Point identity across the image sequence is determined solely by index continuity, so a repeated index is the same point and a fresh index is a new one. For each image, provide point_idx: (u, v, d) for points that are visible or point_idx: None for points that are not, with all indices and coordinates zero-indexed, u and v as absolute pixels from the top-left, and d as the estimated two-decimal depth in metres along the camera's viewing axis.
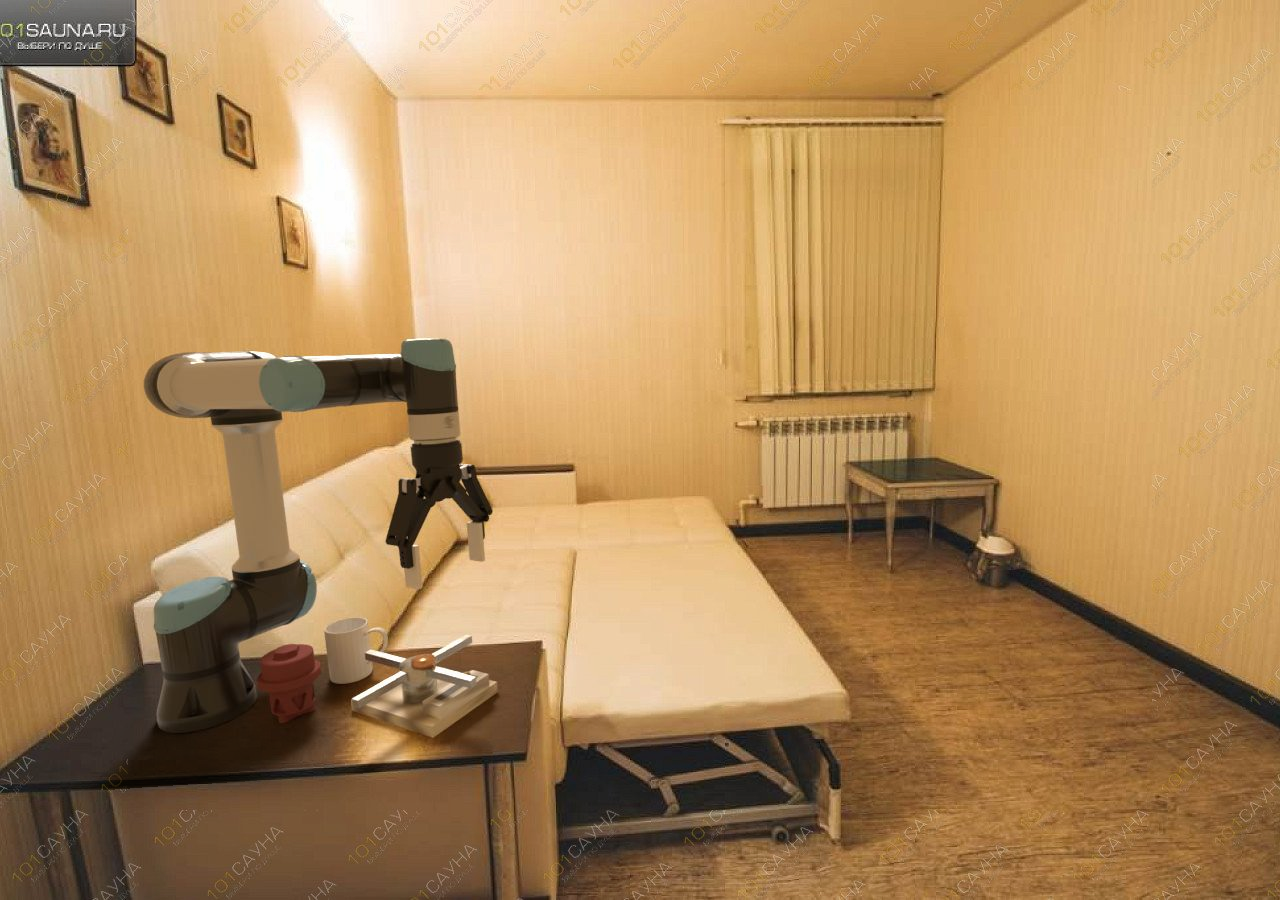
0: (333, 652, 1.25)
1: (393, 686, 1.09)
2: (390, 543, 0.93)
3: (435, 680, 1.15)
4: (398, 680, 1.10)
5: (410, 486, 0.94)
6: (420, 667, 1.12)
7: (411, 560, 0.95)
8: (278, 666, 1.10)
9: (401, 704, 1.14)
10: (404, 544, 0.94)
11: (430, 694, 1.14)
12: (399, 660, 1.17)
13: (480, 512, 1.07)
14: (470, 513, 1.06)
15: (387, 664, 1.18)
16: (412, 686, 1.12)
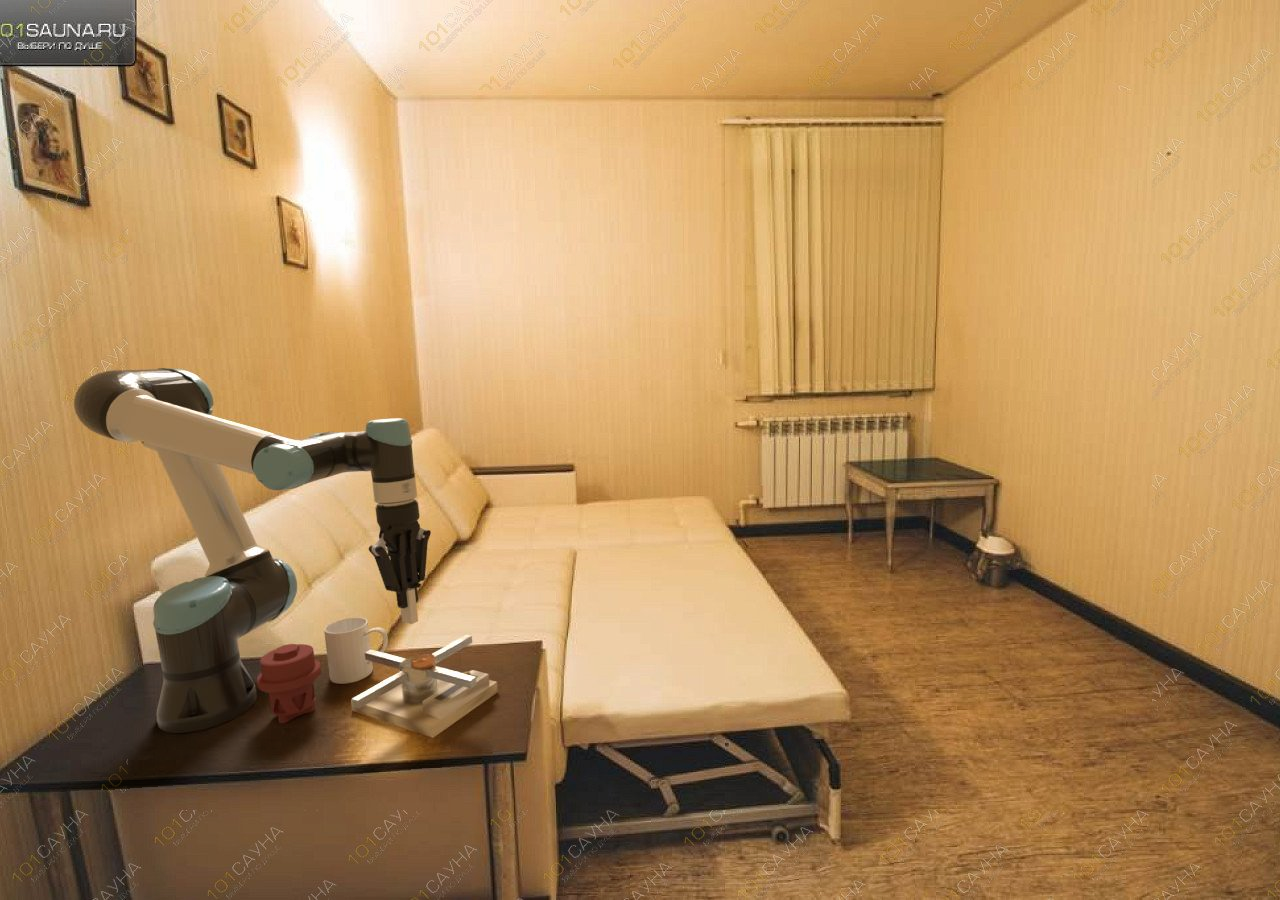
0: (333, 652, 1.25)
1: (393, 686, 1.09)
2: (389, 589, 1.20)
3: (435, 680, 1.15)
4: (398, 680, 1.10)
5: (380, 553, 1.16)
6: (420, 667, 1.12)
7: (406, 601, 1.22)
8: (278, 666, 1.10)
9: (401, 704, 1.14)
10: (401, 592, 1.21)
11: (430, 694, 1.14)
12: (399, 660, 1.17)
13: (416, 577, 1.24)
14: (408, 575, 1.23)
15: (387, 664, 1.18)
16: (412, 686, 1.12)
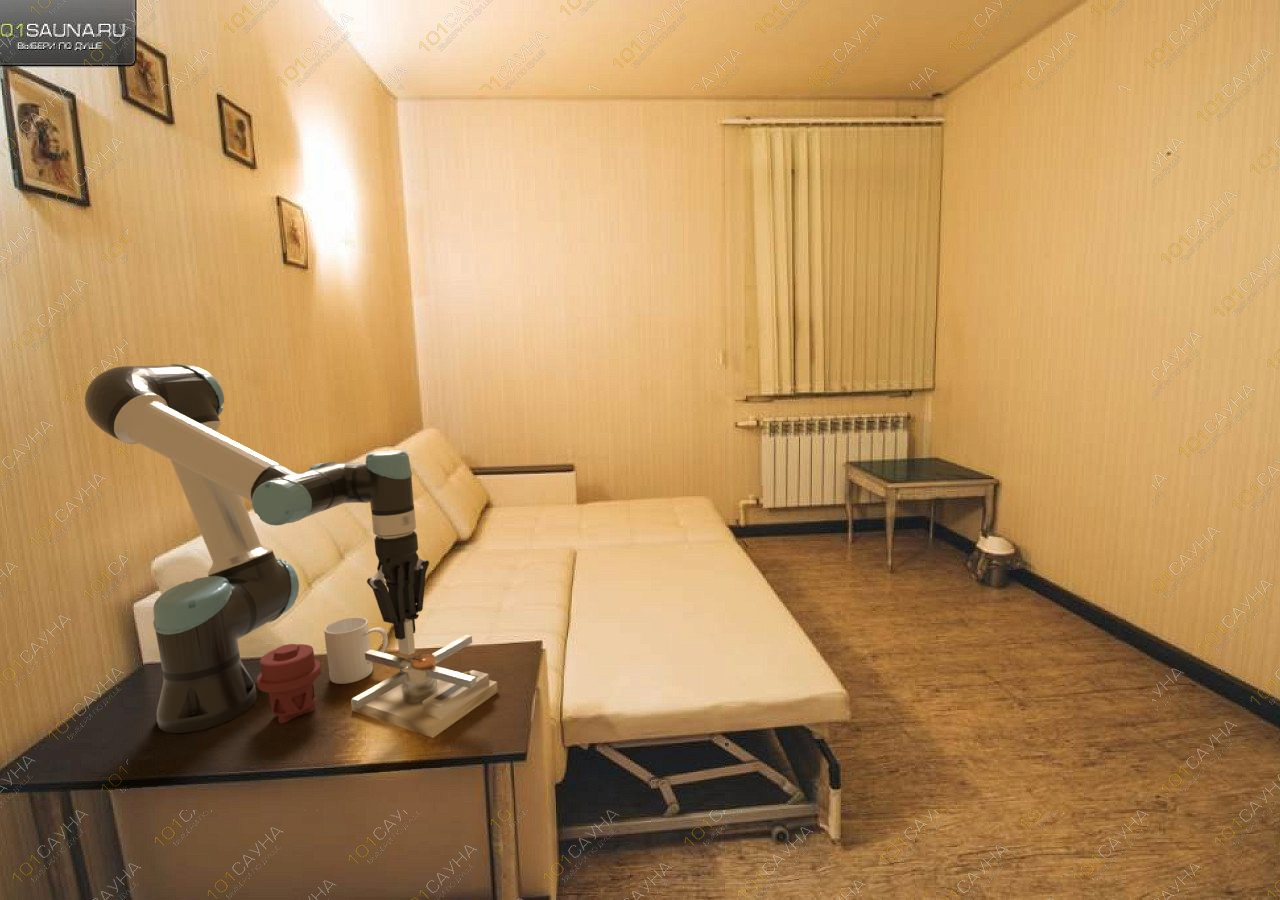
0: (333, 652, 1.25)
1: (393, 686, 1.09)
2: (387, 621, 1.20)
3: (435, 680, 1.15)
4: (398, 680, 1.10)
5: (378, 586, 1.16)
6: (420, 667, 1.12)
7: (403, 632, 1.22)
8: (278, 666, 1.10)
9: (401, 704, 1.14)
10: (399, 623, 1.21)
11: (430, 694, 1.14)
12: (399, 660, 1.17)
13: (413, 608, 1.24)
14: (405, 606, 1.23)
15: (387, 664, 1.18)
16: (412, 686, 1.12)
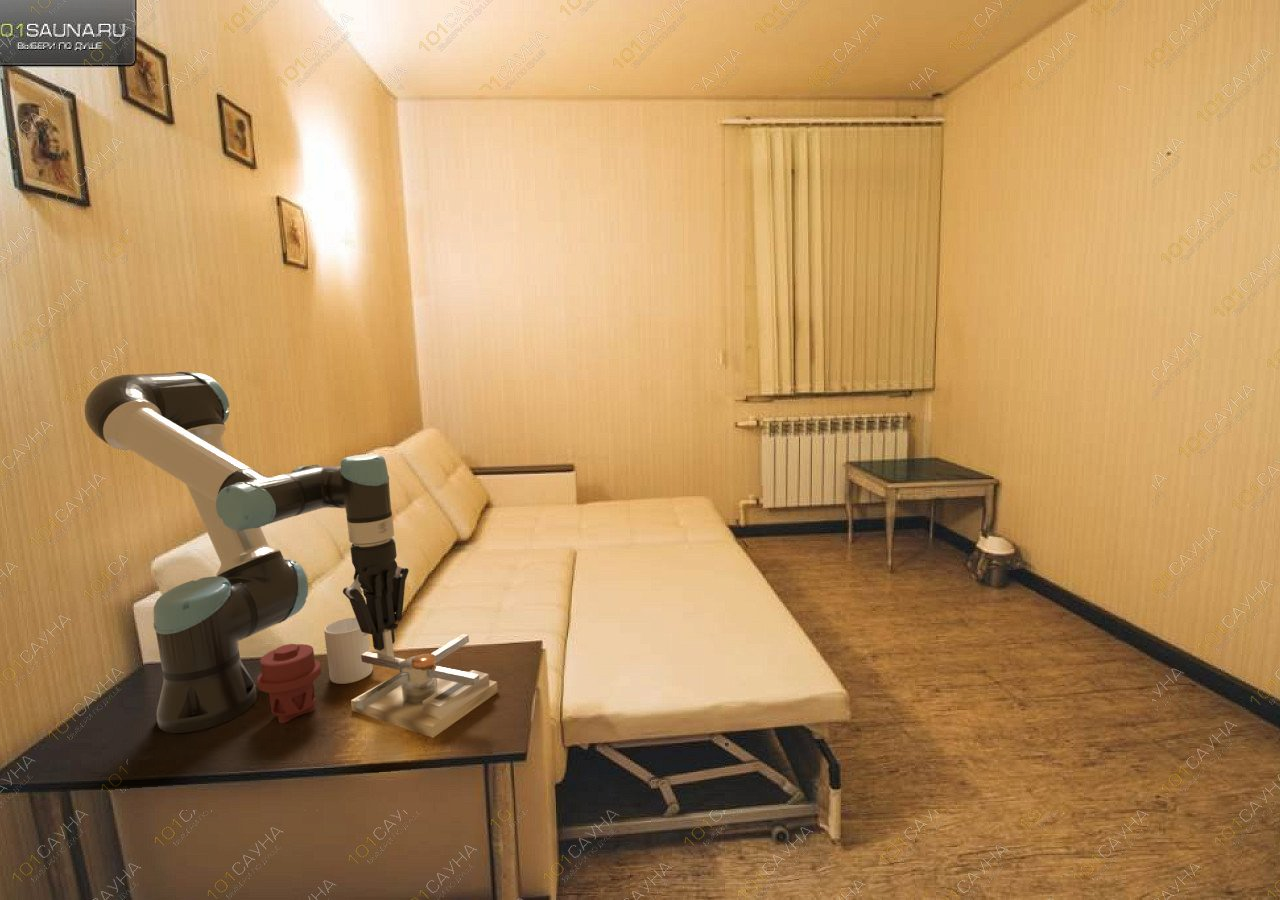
0: (333, 652, 1.25)
1: (395, 686, 1.09)
2: (364, 632, 1.16)
3: (435, 679, 1.15)
4: (400, 680, 1.10)
5: (354, 596, 1.12)
6: (421, 667, 1.12)
7: (382, 643, 1.18)
8: (278, 666, 1.10)
9: (401, 704, 1.14)
10: (377, 633, 1.17)
11: (430, 693, 1.14)
12: (398, 661, 1.16)
13: (392, 618, 1.20)
14: (384, 615, 1.19)
15: (385, 665, 1.17)
16: (414, 686, 1.12)
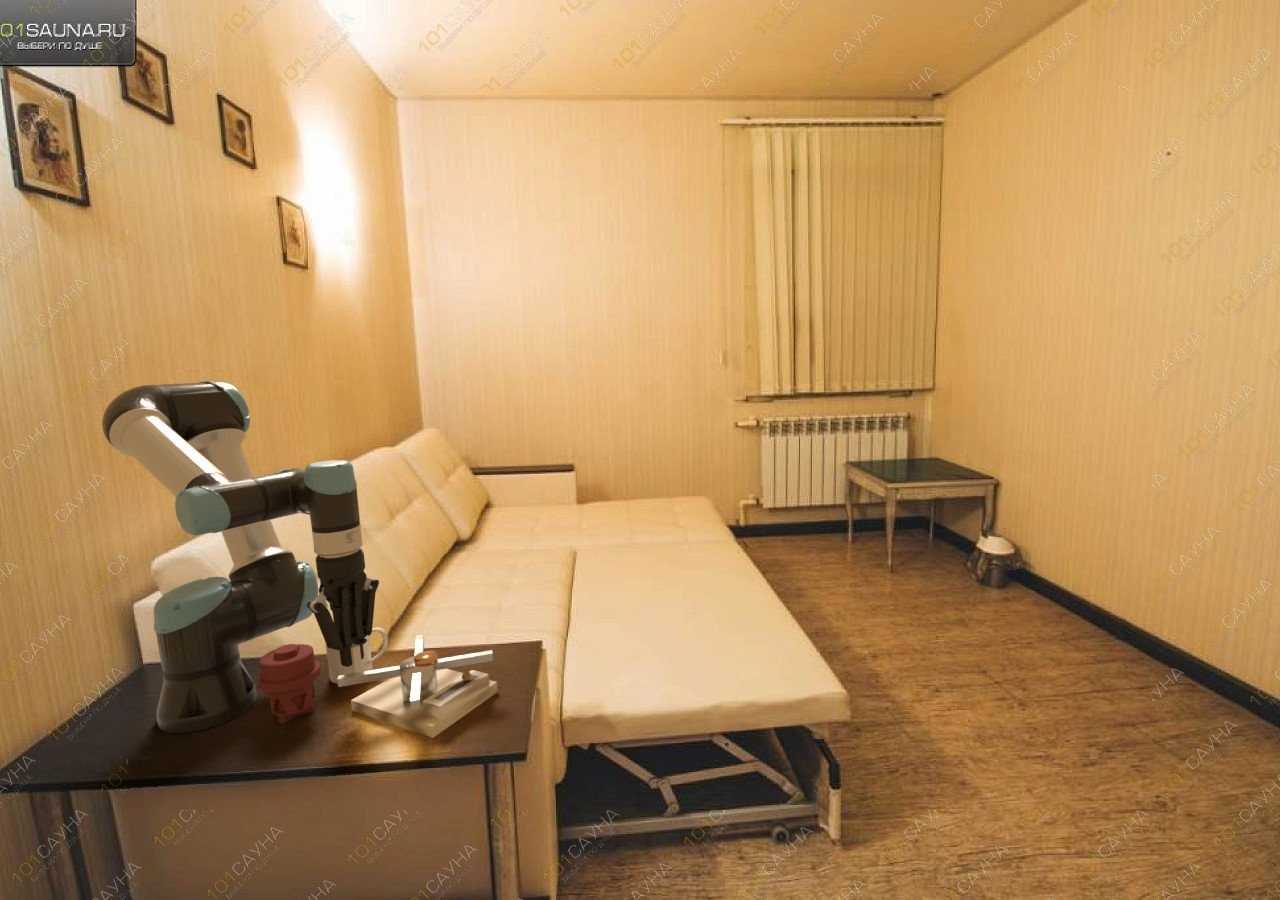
0: (333, 652, 1.25)
1: (421, 685, 1.09)
2: (331, 647, 1.10)
3: None
4: (421, 678, 1.10)
5: (319, 610, 1.06)
6: (432, 662, 1.14)
7: (350, 659, 1.12)
8: (278, 666, 1.10)
9: (401, 704, 1.14)
10: (344, 649, 1.11)
11: (437, 687, 1.16)
12: (392, 669, 1.13)
13: (361, 633, 1.14)
14: (352, 630, 1.13)
15: (375, 679, 1.12)
16: (426, 683, 1.13)
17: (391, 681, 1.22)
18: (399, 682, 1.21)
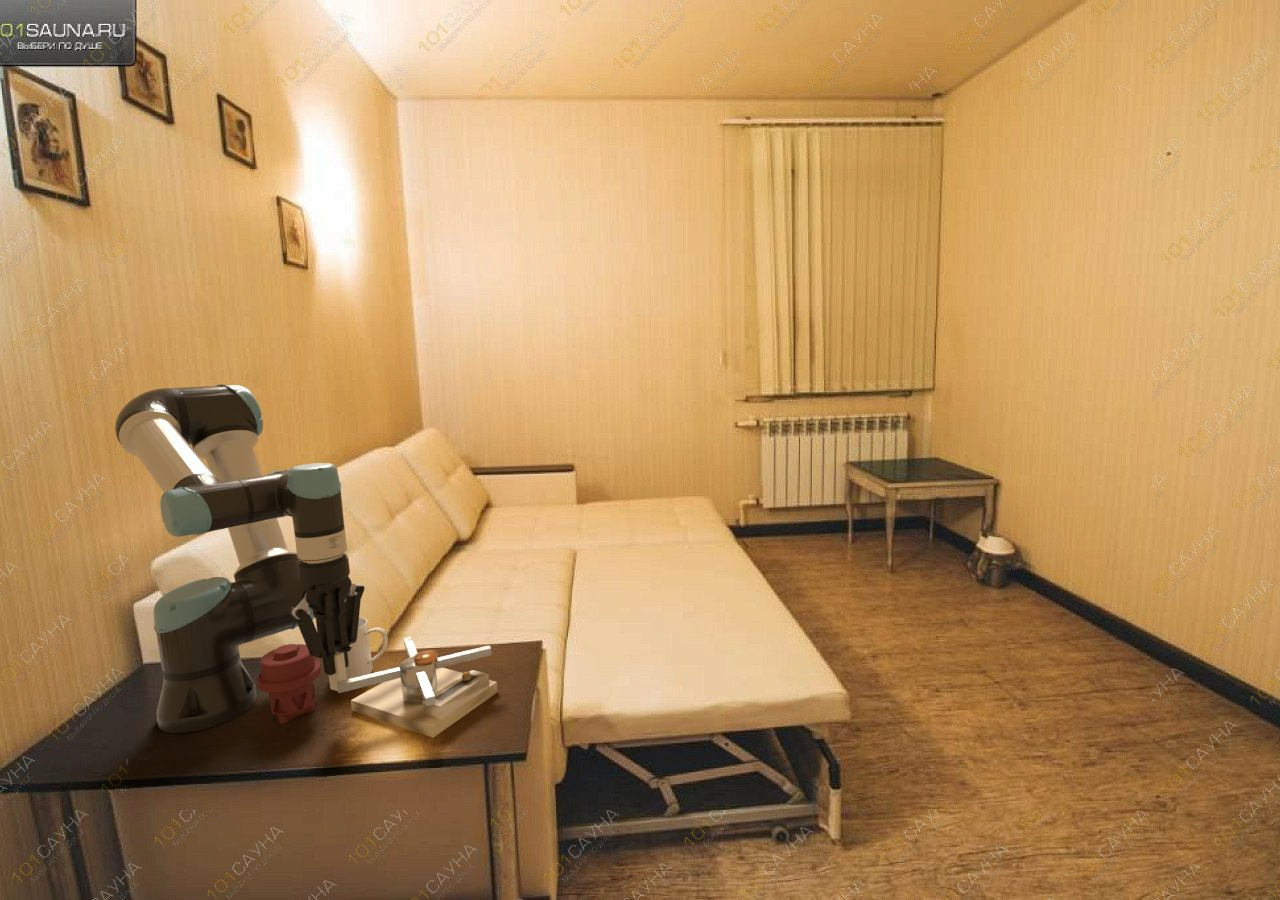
0: None
1: None
2: (313, 655, 1.07)
3: None
4: None
5: (301, 617, 1.03)
6: (433, 660, 1.14)
7: (334, 667, 1.09)
8: (278, 666, 1.10)
9: (401, 704, 1.14)
10: (328, 657, 1.08)
11: (437, 686, 1.16)
12: (392, 670, 1.13)
13: (346, 640, 1.11)
14: (336, 637, 1.10)
15: (376, 682, 1.11)
16: (429, 682, 1.13)
17: (391, 681, 1.22)
18: (399, 682, 1.21)
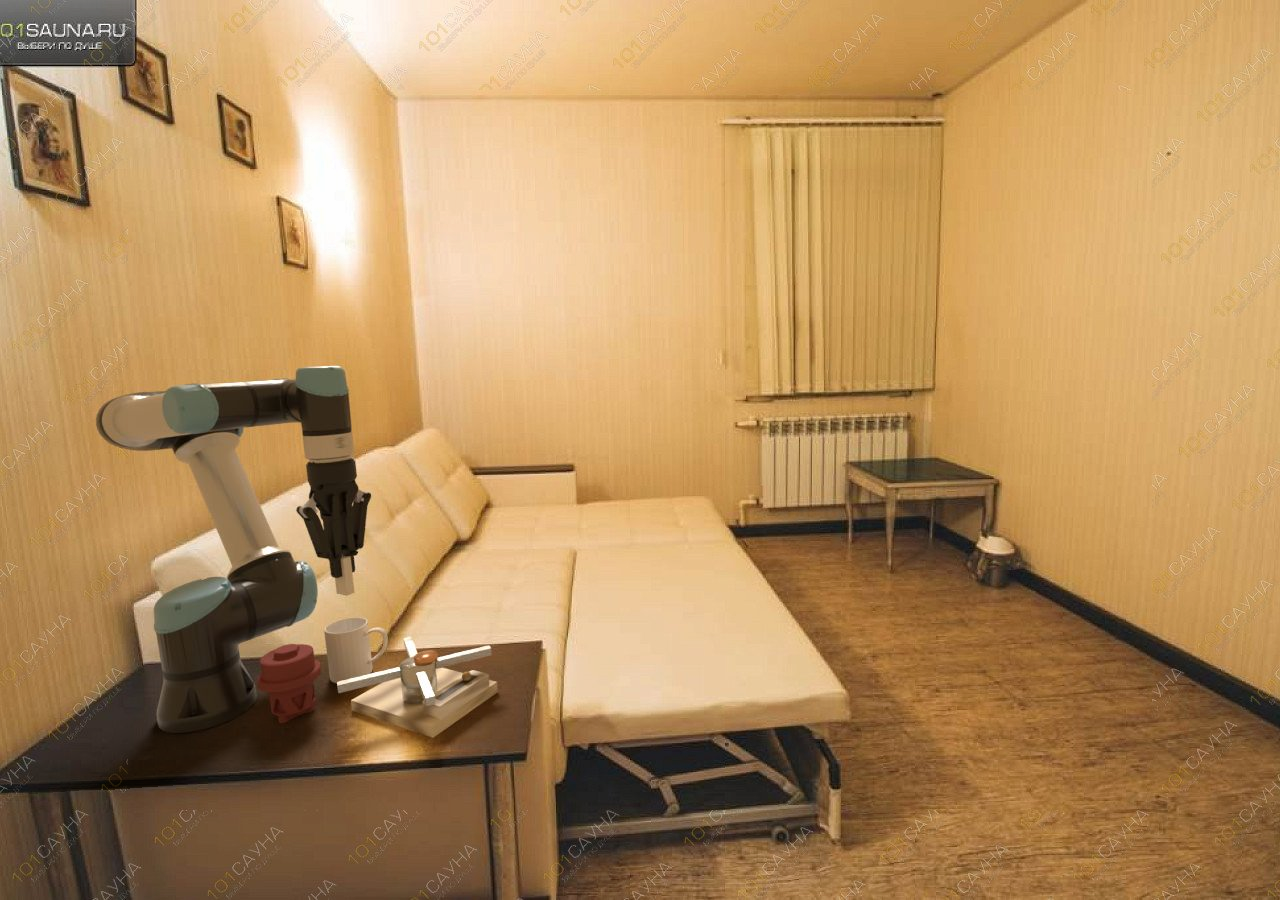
0: (333, 652, 1.25)
1: None
2: (320, 556, 1.08)
3: None
4: None
5: (308, 514, 1.04)
6: (433, 660, 1.14)
7: (340, 570, 1.10)
8: (278, 666, 1.10)
9: (401, 704, 1.14)
10: (334, 559, 1.09)
11: (437, 686, 1.16)
12: (392, 671, 1.13)
13: (352, 544, 1.11)
14: (343, 541, 1.11)
15: (376, 682, 1.11)
16: (429, 682, 1.13)
17: (391, 681, 1.22)
18: (399, 682, 1.21)
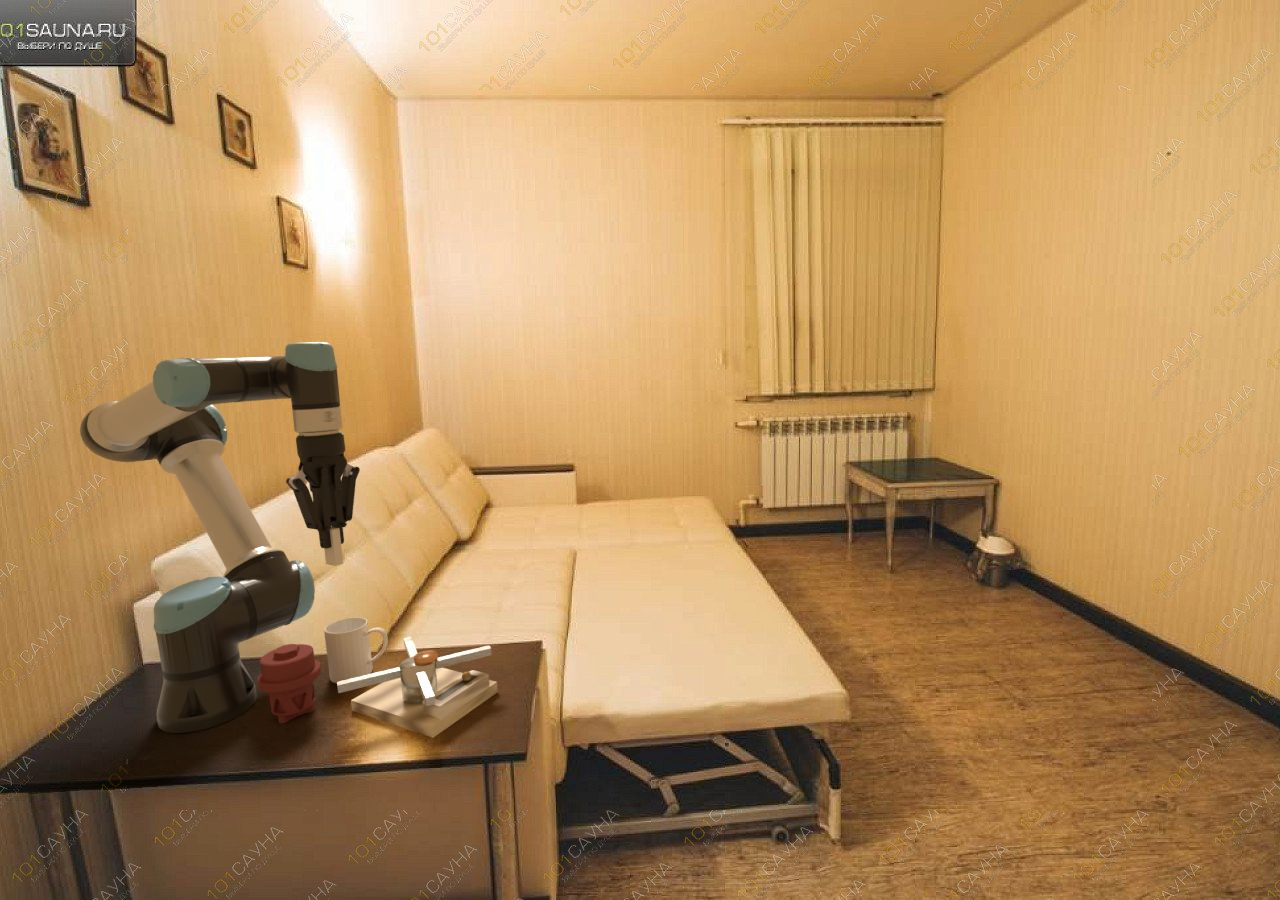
0: (333, 652, 1.25)
1: None
2: (310, 527, 1.11)
3: None
4: None
5: (298, 485, 1.07)
6: (433, 660, 1.14)
7: (329, 541, 1.14)
8: (278, 666, 1.10)
9: (401, 704, 1.14)
10: (323, 530, 1.12)
11: (437, 686, 1.16)
12: (392, 671, 1.13)
13: (341, 516, 1.15)
14: (332, 513, 1.15)
15: (376, 682, 1.11)
16: (429, 682, 1.13)
17: (391, 681, 1.22)
18: (399, 682, 1.21)
